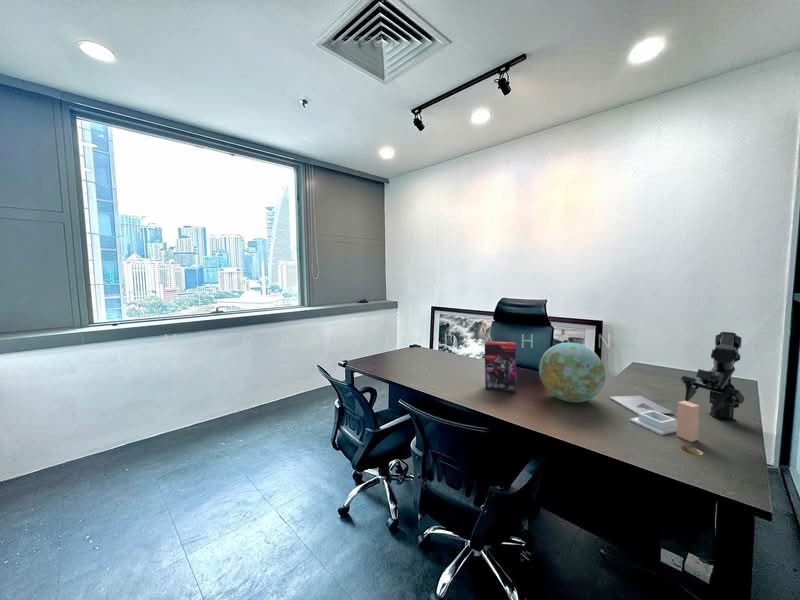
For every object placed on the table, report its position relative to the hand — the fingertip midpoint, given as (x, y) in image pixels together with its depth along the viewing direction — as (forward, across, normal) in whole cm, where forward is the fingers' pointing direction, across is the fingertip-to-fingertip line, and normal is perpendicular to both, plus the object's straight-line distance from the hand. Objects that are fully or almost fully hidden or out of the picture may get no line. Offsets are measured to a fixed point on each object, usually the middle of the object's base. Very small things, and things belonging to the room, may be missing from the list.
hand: (699, 405), depth 127 cm
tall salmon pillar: (+13, 0, +5) cm, 14 cm away
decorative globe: (+22, -45, -4) cm, 51 cm away
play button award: (+5, -28, +14) cm, 31 cm away
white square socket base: (+13, -11, +4) cm, 18 cm away
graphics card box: (+40, -71, -22) cm, 84 cm away
